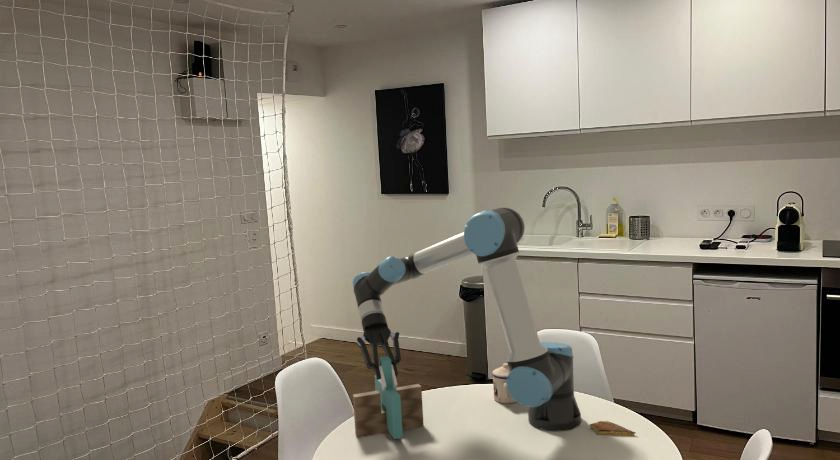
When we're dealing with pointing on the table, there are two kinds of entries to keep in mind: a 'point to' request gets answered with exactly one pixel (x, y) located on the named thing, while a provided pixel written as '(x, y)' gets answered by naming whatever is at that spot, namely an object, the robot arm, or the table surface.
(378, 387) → the teal slotted plate
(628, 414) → the table surface
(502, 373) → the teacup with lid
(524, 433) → the table surface
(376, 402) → the walnut slotted plate
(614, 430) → the pie slice
